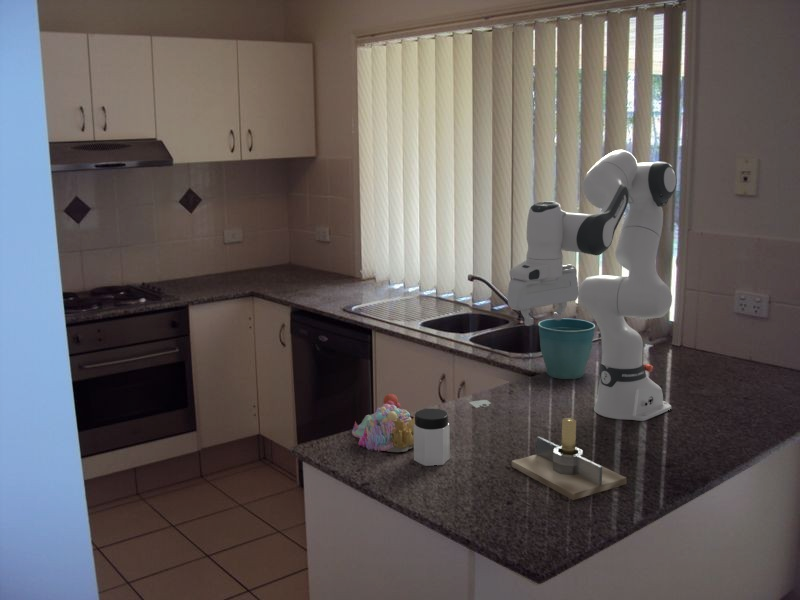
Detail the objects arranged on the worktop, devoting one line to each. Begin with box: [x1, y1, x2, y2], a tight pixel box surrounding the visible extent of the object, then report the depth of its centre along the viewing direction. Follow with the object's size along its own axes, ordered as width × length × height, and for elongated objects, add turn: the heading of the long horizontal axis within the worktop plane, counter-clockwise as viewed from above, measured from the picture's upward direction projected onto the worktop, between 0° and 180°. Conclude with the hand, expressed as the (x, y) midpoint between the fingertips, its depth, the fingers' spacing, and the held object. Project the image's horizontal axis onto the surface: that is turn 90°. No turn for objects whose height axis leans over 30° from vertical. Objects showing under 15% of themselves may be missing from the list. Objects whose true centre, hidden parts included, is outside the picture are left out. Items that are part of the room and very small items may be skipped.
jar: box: [413, 408, 451, 467], centre depth 211 cm, size 9×8×12 cm
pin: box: [561, 417, 577, 455], centre depth 201 cm, size 3×3×12 cm
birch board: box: [511, 453, 628, 501], centre depth 202 cm, size 16×22×2 cm
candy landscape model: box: [351, 393, 415, 453], centre depth 228 cm, size 25×24×9 cm
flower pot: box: [537, 317, 596, 380], centre depth 279 cm, size 18×18×17 cm
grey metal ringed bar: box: [536, 436, 602, 486], centre depth 201 cm, size 7×22×4 cm, turn 30°
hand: (543, 322), depth 216 cm, fingers open, 8 cm apart
